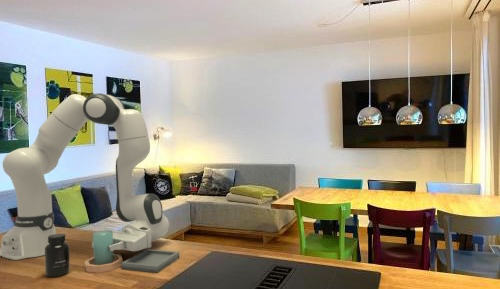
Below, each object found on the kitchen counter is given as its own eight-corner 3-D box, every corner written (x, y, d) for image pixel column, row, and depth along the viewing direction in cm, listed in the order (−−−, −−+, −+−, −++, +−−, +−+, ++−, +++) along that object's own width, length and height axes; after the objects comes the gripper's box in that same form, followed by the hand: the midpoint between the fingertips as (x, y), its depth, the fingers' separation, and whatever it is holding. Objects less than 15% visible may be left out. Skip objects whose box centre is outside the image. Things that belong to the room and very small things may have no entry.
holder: (78, 270, 118) (77, 264, 118) (101, 258, 129) (101, 253, 129) (106, 273, 115) (106, 267, 115) (128, 261, 125) (128, 255, 125)
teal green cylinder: (90, 268, 120) (88, 234, 119) (102, 261, 125) (101, 229, 125) (105, 270, 118) (103, 235, 117) (117, 263, 124) (116, 230, 123)
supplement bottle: (59, 278, 112) (57, 239, 112) (40, 277, 114) (38, 238, 113) (74, 269, 119) (73, 232, 118) (56, 268, 120) (54, 232, 120)
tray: (121, 269, 118) (121, 262, 118) (146, 254, 132) (146, 249, 132) (157, 273, 114) (156, 266, 114) (179, 257, 128) (179, 251, 128)
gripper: (112, 224, 138) (79, 233, 125) (153, 229, 128) (122, 241, 116) (112, 240, 138) (80, 252, 126) (154, 248, 128) (123, 261, 116)
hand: (101, 247), depth 121 cm, fingers closed on teal green cylinder, 6 cm apart
